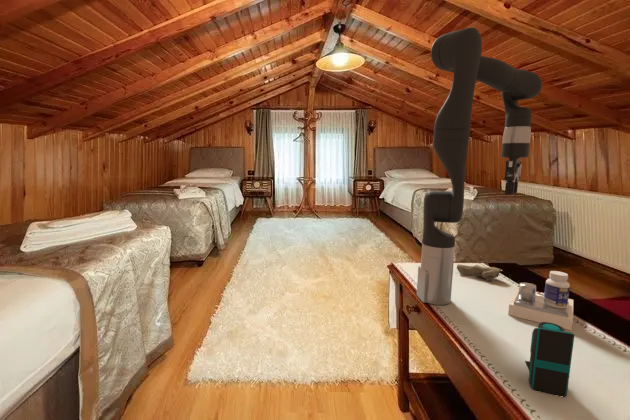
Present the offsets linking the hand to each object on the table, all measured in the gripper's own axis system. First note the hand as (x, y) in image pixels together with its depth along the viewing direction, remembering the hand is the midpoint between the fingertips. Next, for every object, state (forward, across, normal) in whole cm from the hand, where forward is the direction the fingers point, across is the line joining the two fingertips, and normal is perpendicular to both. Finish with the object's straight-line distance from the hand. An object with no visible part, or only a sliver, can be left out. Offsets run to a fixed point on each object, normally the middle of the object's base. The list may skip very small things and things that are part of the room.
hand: (511, 193), depth 107 cm
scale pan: (+29, -15, -12) cm, 35 cm away
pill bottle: (+28, -15, -15) cm, 35 cm away
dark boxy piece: (+32, -48, -14) cm, 60 cm away
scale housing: (+32, -12, -12) cm, 36 cm away
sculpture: (+32, +9, +10) cm, 35 cm away
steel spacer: (+28, -15, -8) cm, 33 cm away
